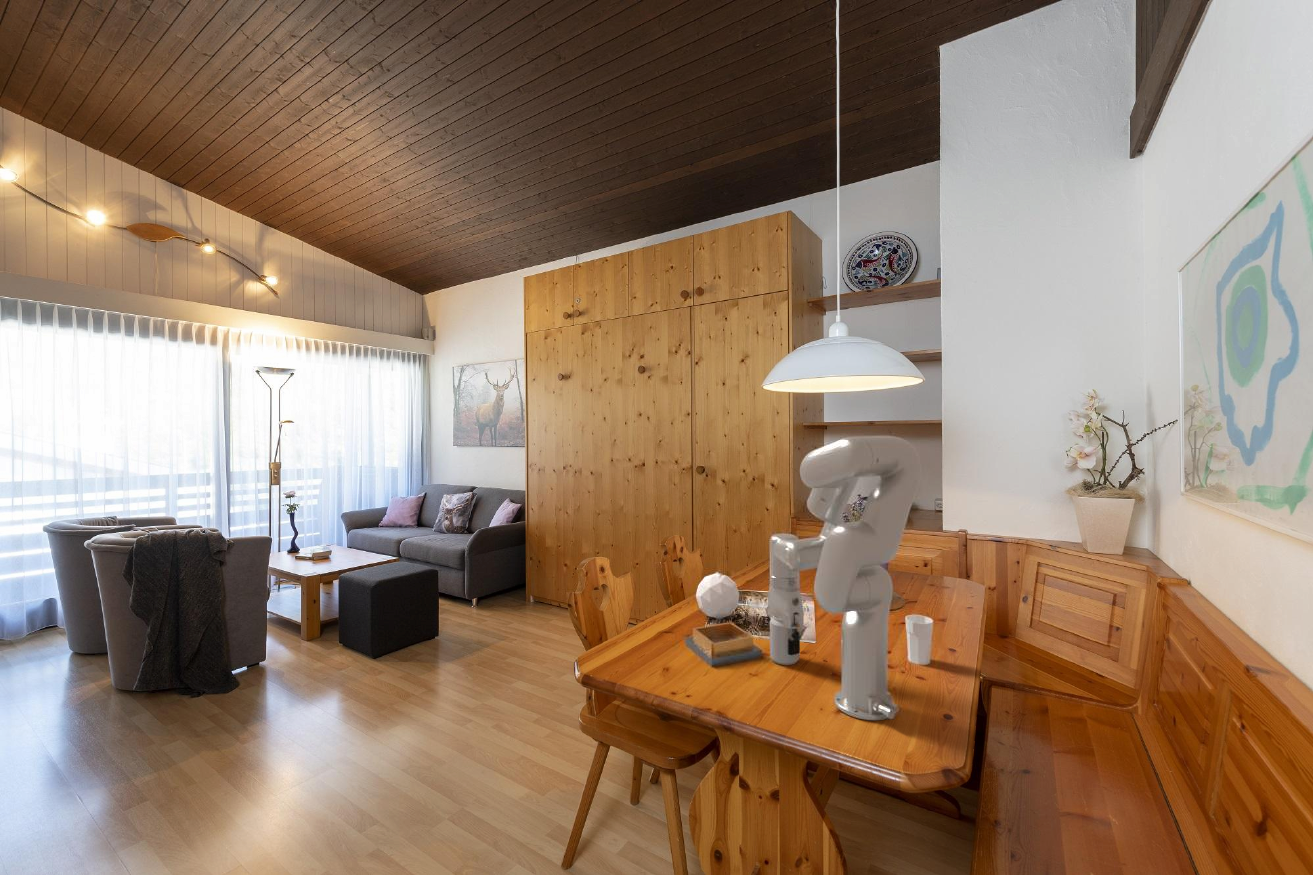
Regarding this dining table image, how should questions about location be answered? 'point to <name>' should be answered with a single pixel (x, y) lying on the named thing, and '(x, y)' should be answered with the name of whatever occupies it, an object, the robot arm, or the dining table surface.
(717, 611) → the geodesic sphere
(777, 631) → the can
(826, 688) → the dining table surface
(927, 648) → the cup
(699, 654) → the open square box
